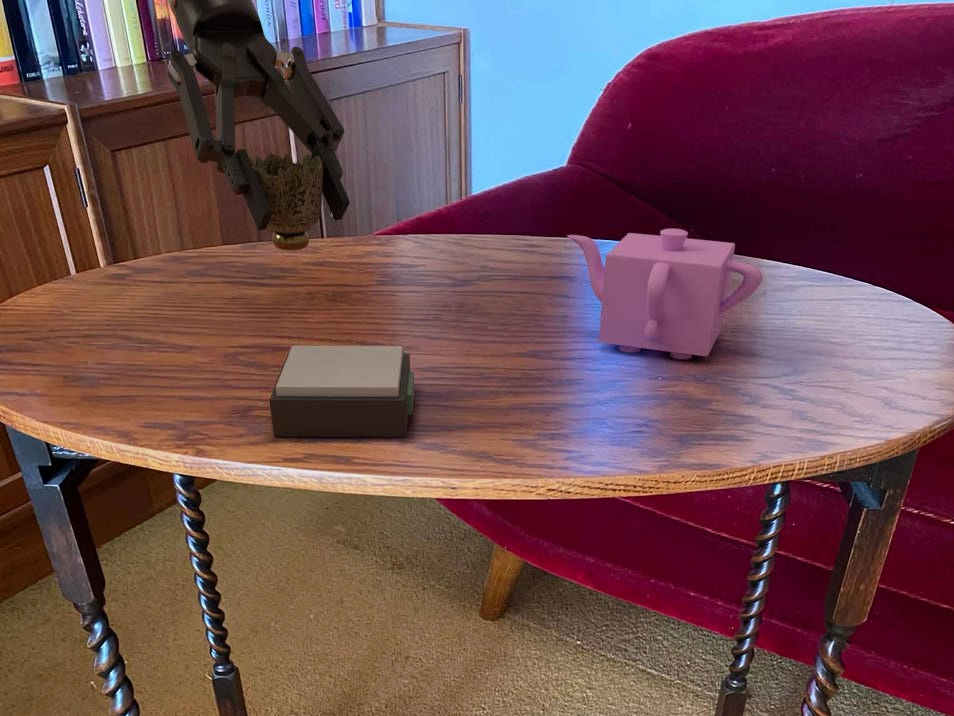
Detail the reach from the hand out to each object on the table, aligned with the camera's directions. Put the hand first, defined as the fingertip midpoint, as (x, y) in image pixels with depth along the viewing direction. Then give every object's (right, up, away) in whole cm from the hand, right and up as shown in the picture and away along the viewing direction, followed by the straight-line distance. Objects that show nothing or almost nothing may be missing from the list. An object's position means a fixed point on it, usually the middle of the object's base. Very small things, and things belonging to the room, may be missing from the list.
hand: (304, 215), depth 91 cm
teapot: (+33, -12, 0) cm, 35 cm away
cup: (-2, -1, +4) cm, 5 cm away
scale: (+6, -22, -15) cm, 27 cm away
